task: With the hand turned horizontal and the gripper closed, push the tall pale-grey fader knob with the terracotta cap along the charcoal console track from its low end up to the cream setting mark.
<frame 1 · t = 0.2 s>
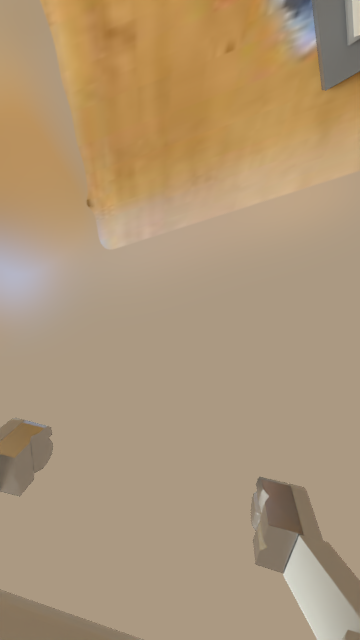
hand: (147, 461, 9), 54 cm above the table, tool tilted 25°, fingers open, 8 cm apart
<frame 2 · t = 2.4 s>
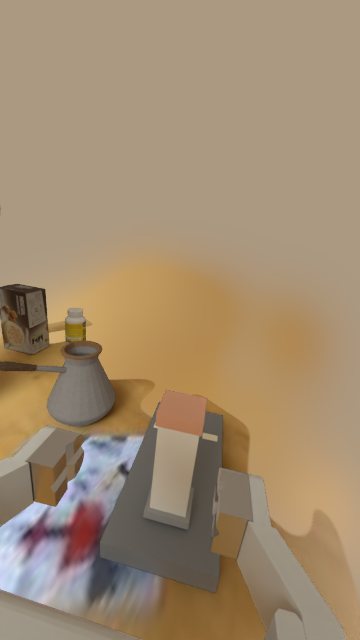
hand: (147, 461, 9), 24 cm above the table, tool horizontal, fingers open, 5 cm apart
coffee pot: (54, 424, 42), on the table
coffee box: (27, 347, 66), on the table
fader knob: (175, 459, 26), point 10 cm above the table, slide at 0.0 cm
fader console: (177, 473, 35), on the table
supplement bottle: (75, 342, 72), on the table
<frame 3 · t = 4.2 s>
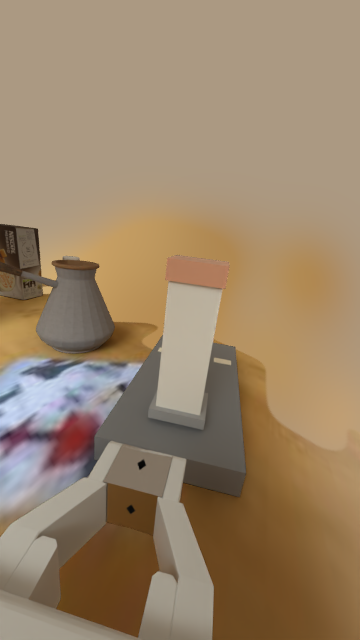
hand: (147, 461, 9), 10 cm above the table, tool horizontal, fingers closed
coffee pot: (45, 351, 37), on the table
coffee box: (18, 295, 60), on the table
fader knob: (188, 342, 21), point 10 cm above the table, slide at 0.0 cm
fader console: (186, 393, 30), on the table
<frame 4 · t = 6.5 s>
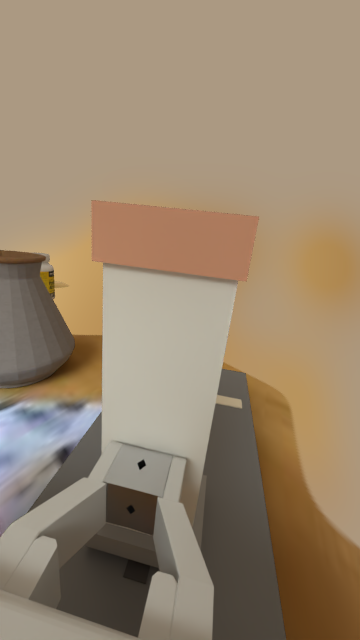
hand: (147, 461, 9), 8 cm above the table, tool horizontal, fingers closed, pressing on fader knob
fader knob: (164, 396, 10), point 10 cm above the table, slide at 1.0 cm, touching gripper
fader console: (170, 463, 18), on the table
supplement bottle: (41, 299, 55), on the table
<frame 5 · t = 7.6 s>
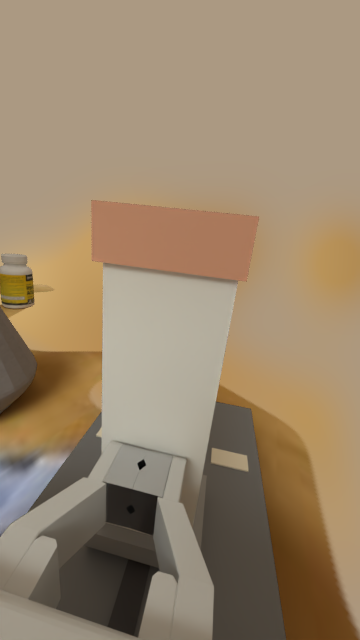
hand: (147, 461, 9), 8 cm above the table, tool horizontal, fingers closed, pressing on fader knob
fader knob: (164, 396, 10), point 10 cm above the table, slide at 7.4 cm, touching gripper
fader console: (143, 568, 12), on the table
supplement bottle: (19, 306, 49), on the table
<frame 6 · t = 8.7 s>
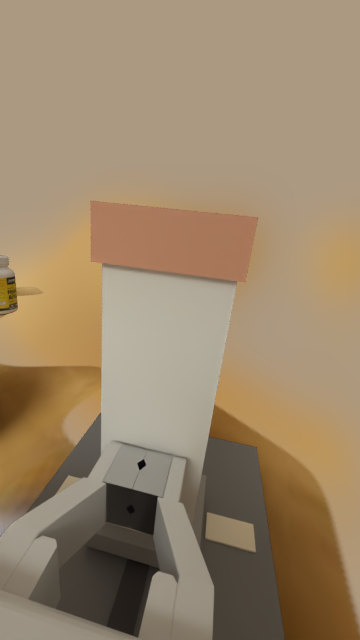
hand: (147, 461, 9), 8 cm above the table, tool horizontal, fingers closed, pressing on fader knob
fader knob: (163, 397, 10), point 10 cm above the table, slide at 11.7 cm, touching gripper
supplement bottle: (0, 311, 45), on the table
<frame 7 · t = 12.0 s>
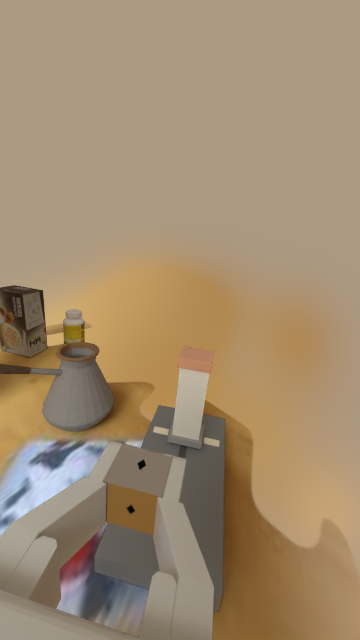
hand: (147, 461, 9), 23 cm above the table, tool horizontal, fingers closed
coffee pot: (50, 429, 40), on the table
coffee box: (25, 350, 64), on the table
fader knob: (191, 397, 36), point 10 cm above the table, slide at 11.9 cm
fader console: (177, 480, 34), on the table
supplement bottle: (74, 344, 70), on the table
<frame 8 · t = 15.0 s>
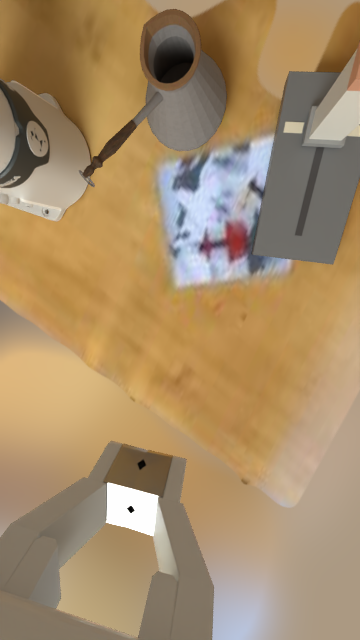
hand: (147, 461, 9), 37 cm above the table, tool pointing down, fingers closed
coffee pot: (167, 144, 39), on the table
fader knob: (350, 100, 26), point 10 cm above the table, slide at 11.9 cm
fader console: (307, 180, 37), on the table
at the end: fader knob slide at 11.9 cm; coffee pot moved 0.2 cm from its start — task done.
